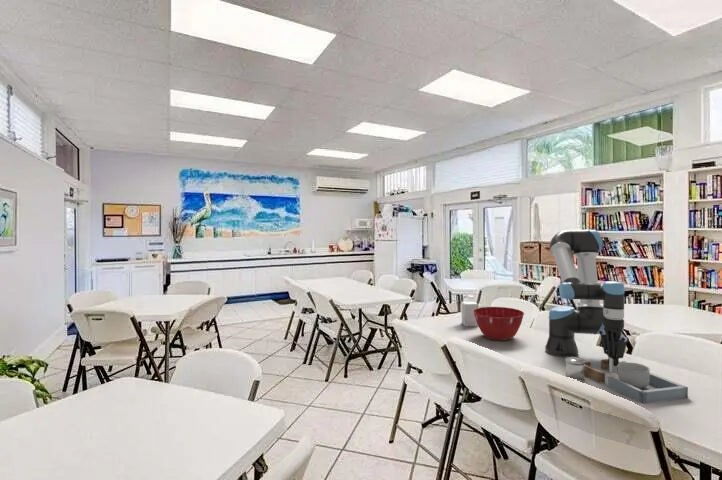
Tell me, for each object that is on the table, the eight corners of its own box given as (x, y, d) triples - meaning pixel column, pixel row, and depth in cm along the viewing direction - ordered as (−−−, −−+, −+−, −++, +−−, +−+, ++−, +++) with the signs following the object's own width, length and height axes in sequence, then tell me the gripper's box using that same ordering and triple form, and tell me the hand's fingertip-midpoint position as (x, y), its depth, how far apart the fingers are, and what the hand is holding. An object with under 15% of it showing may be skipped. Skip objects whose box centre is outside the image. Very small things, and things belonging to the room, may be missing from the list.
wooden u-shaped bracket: (576, 370, 173) (576, 362, 172) (612, 367, 176) (612, 358, 176) (601, 383, 159) (601, 373, 159) (640, 378, 163) (640, 369, 163)
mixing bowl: (493, 346, 209) (493, 318, 209) (463, 333, 236) (463, 308, 236) (535, 341, 218) (535, 314, 217) (502, 329, 245) (501, 305, 245)
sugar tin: (561, 375, 168) (561, 357, 168) (575, 373, 169) (575, 356, 169) (573, 381, 161) (573, 363, 160) (589, 380, 162) (589, 362, 162)
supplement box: (478, 326, 252) (478, 303, 252) (464, 326, 252) (464, 304, 252) (474, 323, 261) (474, 301, 261) (461, 323, 262) (461, 301, 261)
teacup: (654, 392, 149) (654, 372, 149) (621, 389, 152) (621, 369, 152) (641, 379, 162) (641, 360, 162) (611, 376, 166) (611, 358, 165)
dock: (607, 386, 155) (607, 376, 155) (648, 381, 159) (648, 372, 159) (643, 403, 140) (643, 392, 140) (687, 397, 144) (687, 387, 144)
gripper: (593, 315, 169) (593, 368, 170) (619, 321, 157) (618, 379, 157) (608, 314, 171) (608, 366, 171) (634, 320, 158) (634, 377, 159)
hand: (613, 372), depth 164 cm, fingers closed
